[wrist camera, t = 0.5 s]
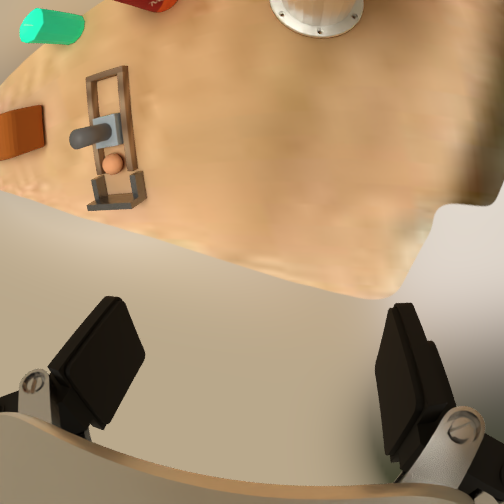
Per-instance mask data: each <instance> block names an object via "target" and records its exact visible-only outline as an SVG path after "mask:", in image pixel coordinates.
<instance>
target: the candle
mask: <svg viewBox="0 0 504 504" xmlns="http://www.w3.org/2000/svg"><path fill="white" fill-rule="evenodd" d="M84 23H85V21H84V19H83V17H82V16H80V15H76V14H70V13H65V12H60V11H54V10H47V9H39V8H36V9H34V10H33V11H31V12H30V13H29V15H28V16H27V17H26V18H25V19H24V21H23V23H22V24H21V26H20V38H21V41H22V42H25V43H47V44H64V45H69V44H72V43H74V42H75V41H76V40H77V39H78V38H79V37H80V36H81V34H82V32H83V30H84Z"/></svg>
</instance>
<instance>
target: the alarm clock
mask: <svg viewBox="0 0 504 504" xmlns="http://www.w3.org/2000/svg"><path fill="white" fill-rule="evenodd" d="M43 146H44V136H43V124H42V107H41V105H37V106H31V107H26V108H21V109H16V110H12V111H8V112H5V113H2V114H0V161H2V160H6V159H10V158H13V157H16V156H19V155H21V154H24V153H27V152H30V151H32V150H35V149H38V148H41V147H43Z"/></svg>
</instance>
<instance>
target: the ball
mask: <svg viewBox="0 0 504 504" xmlns="http://www.w3.org/2000/svg"><path fill="white" fill-rule="evenodd" d="M102 166H103V169H104V171H105V172H106V173H107V174H110V175H113V174H117V173H118V172H119V171H120V170H121V169H122V166H123V161H122V158H121V157H120V156H119V155H117V154H109V155H107V156H106V157H105V158H104V160H103V164H102Z"/></svg>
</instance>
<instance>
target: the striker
mask: <svg viewBox="0 0 504 504" xmlns="http://www.w3.org/2000/svg"><path fill="white" fill-rule="evenodd" d="M69 141H70V145H71V146H72V148H74V149H80V148H83V147H86V146H89V145H92V144H96V149H99V148H105V147H110V146H116V145H120V144H123V143H124V141H123V133H122V124H121V115H120V113H116V114H111V115H107V116H103V117H99V118H95V119H93V126H89V127H85V128H80V129H76V130H74V131H72V132H71V134H70V137H69Z"/></svg>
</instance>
